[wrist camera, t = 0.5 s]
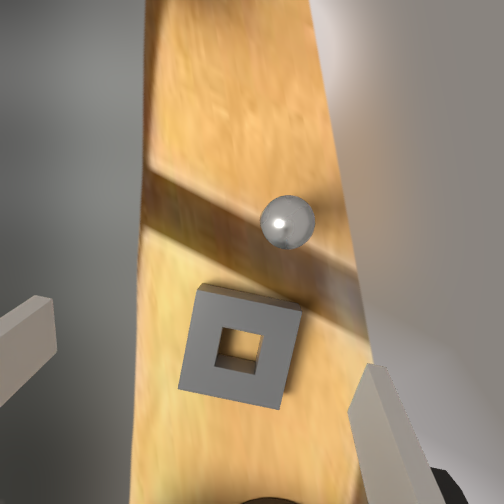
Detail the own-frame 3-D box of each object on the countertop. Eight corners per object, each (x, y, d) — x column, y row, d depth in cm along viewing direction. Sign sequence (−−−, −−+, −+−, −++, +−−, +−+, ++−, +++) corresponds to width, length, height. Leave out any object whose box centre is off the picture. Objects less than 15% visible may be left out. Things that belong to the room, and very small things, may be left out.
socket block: (277, 393, 35) (279, 410, 32) (184, 374, 35) (177, 389, 32) (298, 303, 34) (302, 311, 31) (202, 283, 34) (196, 289, 31)
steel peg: (287, 239, 33) (308, 254, 20) (256, 232, 33) (256, 243, 19) (294, 208, 33) (320, 201, 19) (263, 201, 33) (267, 190, 19)
